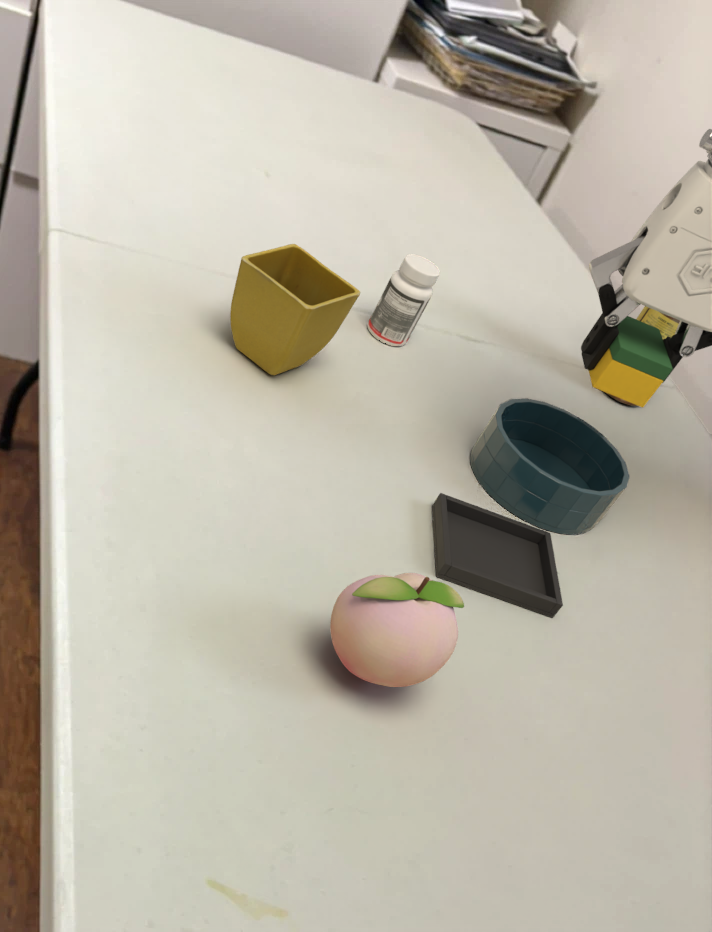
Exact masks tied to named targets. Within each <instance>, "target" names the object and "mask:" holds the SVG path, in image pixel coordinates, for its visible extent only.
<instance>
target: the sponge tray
mask: <svg viewBox="0 0 712 932" xmlns="http://www.w3.org/2000/svg"><path fill="white" fill-rule="evenodd" d="M431 510H432V512H431V513H432V528H433V529H432V530H433V546H434V547H433V548H434V566H435V577H436V578H439V579H442V580H445V581H448V582H450V583H453V584H456V585H458V586H461V587H464V588H466V589H470V590H473V591H475V592H479V593H481V594H483V595H487V596H489V597H492V598H495V599H498V600H501V601H504V602H507V603H509V604H512V605H515V606H518V607H520V608H523V609H525V610H529V611H532V612H535V613H538V614H540V615H543V616H546V617H548V618H551V619H553V618H554V617H555V616H556V615H557V614H558V612H559V611H561V608H562V607H563V606H564V604H563V603H564V602H563V597H562V591H561V585H560V580H559V575H558V569H557V563H556V558H555V551H554V546H553V541H552V540H553V539H552V535H551V532H550V531H547V530H544V529H541V528H539V527H536V526H533V525H531V524H530V525H529V524H526V523H524V522H521V521H519V520H516V519H513V518H510V517H508V516H505V515H503V514H499V513H497V512H494V511H491V510H488V509H486V508H483V507H481V506H477V505H475V504H472V503H469V502H467V501H464V500H461V499H458V498H456V497H454V496H451V495H449V494H445V493H443V492H440V493H439V494H438V496H437V497H436V499H435V501H434V502H432V505H431Z"/></svg>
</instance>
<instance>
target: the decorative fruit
mask: <svg viewBox="0 0 712 932" xmlns="http://www.w3.org/2000/svg"><path fill="white" fill-rule="evenodd" d="M454 608H458V609H463V608H465V602H464V600H463V598H462V597H461V595H460V593H458V591H456V590H455V589H454V588H453V587H451V586H450V585H448V584H446V583H444V582H442V581H439V580H438V581H437V580H433V579H431V578H430V577H429V576H425V575H423V574H420V573H417V572H404V573H400V574H395V575H394V576H391V575H386V574H373V575H368V576H365V577H362V578H359V579H358V580H356V581H354V582H352V583H350V584H349V585H347V586H346V587H345V588H344V589H342V591H341V592H340V593H339V594H338V596H337V598H336V600H335V603H334V604H333V607H332V611H331V614H330V621H329V623H330V624H329V631H330V637H331V642H332V645H333V649H334V651H335V653H336V655H337V656H338V658H339V660H340V662H341V664H342V665H343V666H344V667H345V668H346V669H347V670H348V672H349V673H351V674H352V675H354V676H355V677H357V678H359V679H361V680H363V681H365V682H367V683H371V684H374V685H378V686H383V687H389V688H390V687H391V688H404V687H405V688H406V687H410V686H414V685H417V684H420V683H422V682H424V681H427V680H428V679H430V678H432V677H433V676H434V675H435V674H436V673H438V672H439V671H440V670H441V669H442V668H443V667H444V666H445V665H446V664H447V663H448V661H449V660H450V659H451V657H452V655H453V653H454V652H455V649H456V647H457V644H458V638H459V626H458V621H457V615H456V612H455V609H454Z"/></svg>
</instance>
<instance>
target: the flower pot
mask: <svg viewBox="0 0 712 932" xmlns="http://www.w3.org/2000/svg"><path fill="white" fill-rule="evenodd" d="M238 267H239V268H238V270H237V271H238V272H237V275H236V281H235V283H234V284H235V285H234V289H233V294H232V298H231V304H230V314H229V316H230V317H229V318H230V331H231V334H232V338H233V343H234V345H235V348H236V349H237V350H238V351H239V352H240V353H242V354H243V355H244V356H245V357H246V358H248V359H249V360H251V361H252V362H253V363H254V364H256V365H257V366H258V367H260V369H262V370H263V371H264V372H266V373H267V374H269V375H271V376H277V375H279V374H282V373H284V372H287V371H289V370H292V369H295V368H298V367H301V366H303V365H305V364H306V363H307V362H309V360H311V359H312V358H314V357H315V356H316V355H317V354H319V353H320V352H321V351H322V350H323V349H324V348H325V347H326V346H327V345H328V344H329V343H330V342H331V341H332V339H333V338H334V337H335V335H336V334H337V333H338V331H339V329H340V328H341V326H342V324H343V323H344V321H345V320H346V318H347V316H348V315H349V313H350V311H351V310H352V308H353V307H354V305H355V303H356V302H357V300H358V298H359V297H360V295H361V290H359V289H358V288H357V287H355V286H354V285H353V284H351V283H350V282H349V281H347V280H346V279H344V278H343V277H341V276H340V275H338V273H336V272H334V271H333V270H332V269H330V268H329V267H328V266H326V265H325V264H323V263H322V262H321V261H319V260H318V259H317V258H316V257H315V256H313V255H312V254H311V253H309V252H308V251H306V249H304V248H302V247H301V246H299V245H297V244H296V243H290V244H286V245H282V246H278V247H274V248H269V249H267V250H262V251H258V252H254V253H250V254H249V253H248V254H245V255H243V256H241V258H240V262H239V266H238Z"/></svg>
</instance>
